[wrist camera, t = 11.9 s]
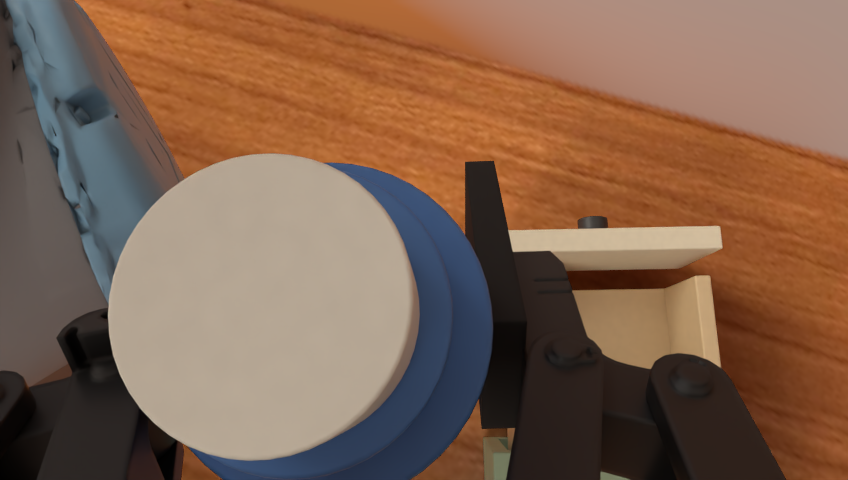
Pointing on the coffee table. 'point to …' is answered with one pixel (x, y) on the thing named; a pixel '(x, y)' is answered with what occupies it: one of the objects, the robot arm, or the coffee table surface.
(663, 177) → the coffee table surface
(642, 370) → the robot arm
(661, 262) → the drawer
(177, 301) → the bottle
